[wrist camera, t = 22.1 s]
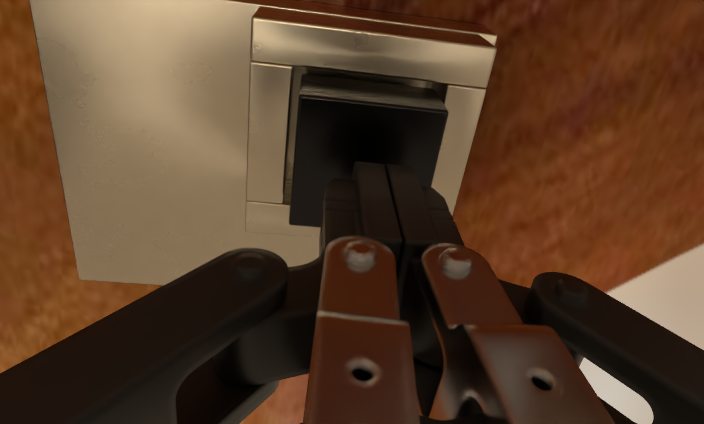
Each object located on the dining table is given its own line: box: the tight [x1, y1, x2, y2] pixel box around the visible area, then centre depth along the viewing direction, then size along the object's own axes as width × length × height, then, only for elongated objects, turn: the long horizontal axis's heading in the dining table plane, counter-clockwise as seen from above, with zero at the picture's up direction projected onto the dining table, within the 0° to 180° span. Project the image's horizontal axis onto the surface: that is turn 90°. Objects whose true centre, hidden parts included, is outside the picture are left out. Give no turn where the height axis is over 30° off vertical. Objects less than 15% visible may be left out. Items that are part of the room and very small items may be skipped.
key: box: [289, 74, 449, 228], centre depth 15 cm, size 4×4×2 cm
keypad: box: [29, 0, 497, 285], centre depth 18 cm, size 14×11×4 cm
